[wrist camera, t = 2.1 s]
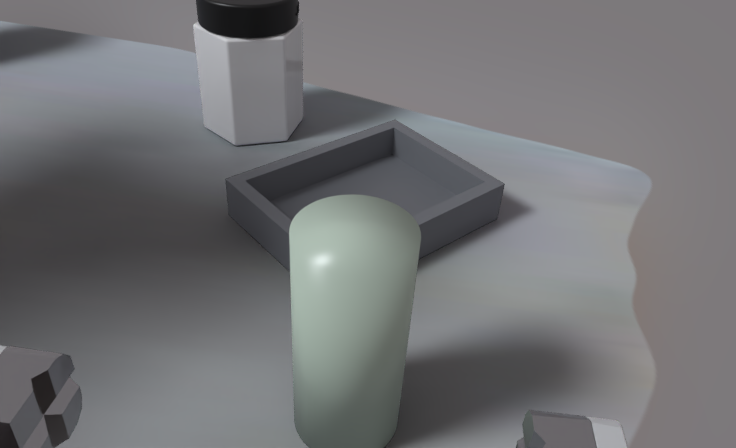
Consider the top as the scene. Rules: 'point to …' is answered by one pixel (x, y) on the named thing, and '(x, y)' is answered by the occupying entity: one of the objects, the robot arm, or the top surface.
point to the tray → (367, 187)
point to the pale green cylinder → (350, 318)
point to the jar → (250, 68)
